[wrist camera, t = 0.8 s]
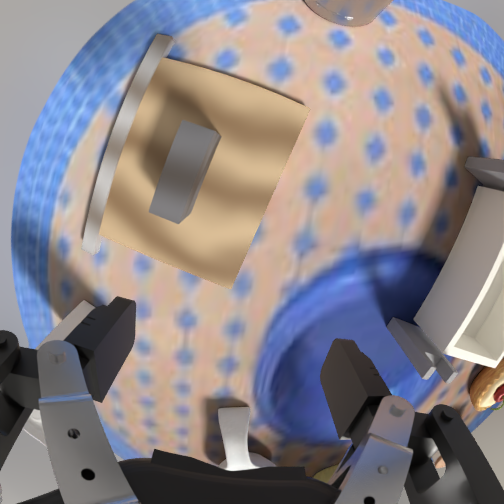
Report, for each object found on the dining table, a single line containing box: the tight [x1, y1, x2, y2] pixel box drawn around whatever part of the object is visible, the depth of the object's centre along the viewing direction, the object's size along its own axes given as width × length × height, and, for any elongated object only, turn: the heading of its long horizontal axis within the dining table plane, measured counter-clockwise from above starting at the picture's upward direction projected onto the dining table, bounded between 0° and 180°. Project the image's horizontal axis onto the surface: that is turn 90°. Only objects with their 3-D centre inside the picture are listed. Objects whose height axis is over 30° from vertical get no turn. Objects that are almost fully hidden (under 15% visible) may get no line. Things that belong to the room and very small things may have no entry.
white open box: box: [387, 157, 504, 383], centre depth 26 cm, size 25×20×10 cm
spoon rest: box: [218, 407, 277, 471], centre depth 37 cm, size 24×12×7 cm, turn 7°
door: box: [82, 34, 310, 289], centre depth 24 cm, size 25×18×6 cm
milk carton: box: [23, 300, 95, 446], centre depth 24 cm, size 7×7×19 cm
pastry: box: [470, 359, 504, 411], centre depth 34 cm, size 12×12×9 cm
